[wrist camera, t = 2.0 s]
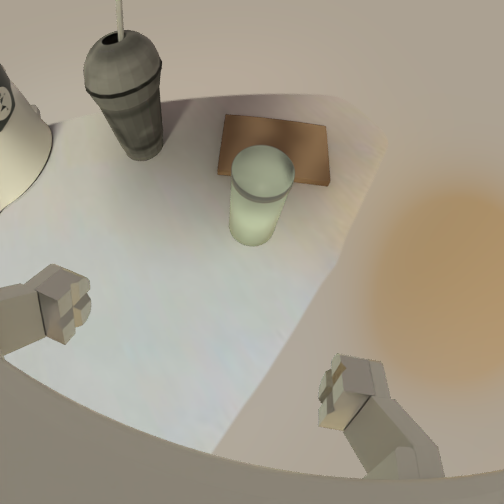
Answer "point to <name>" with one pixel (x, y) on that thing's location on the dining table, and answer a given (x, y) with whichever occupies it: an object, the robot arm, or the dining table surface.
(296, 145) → the walnut board
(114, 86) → the beverage cup
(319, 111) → the dining table surface
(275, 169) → the sage tube
